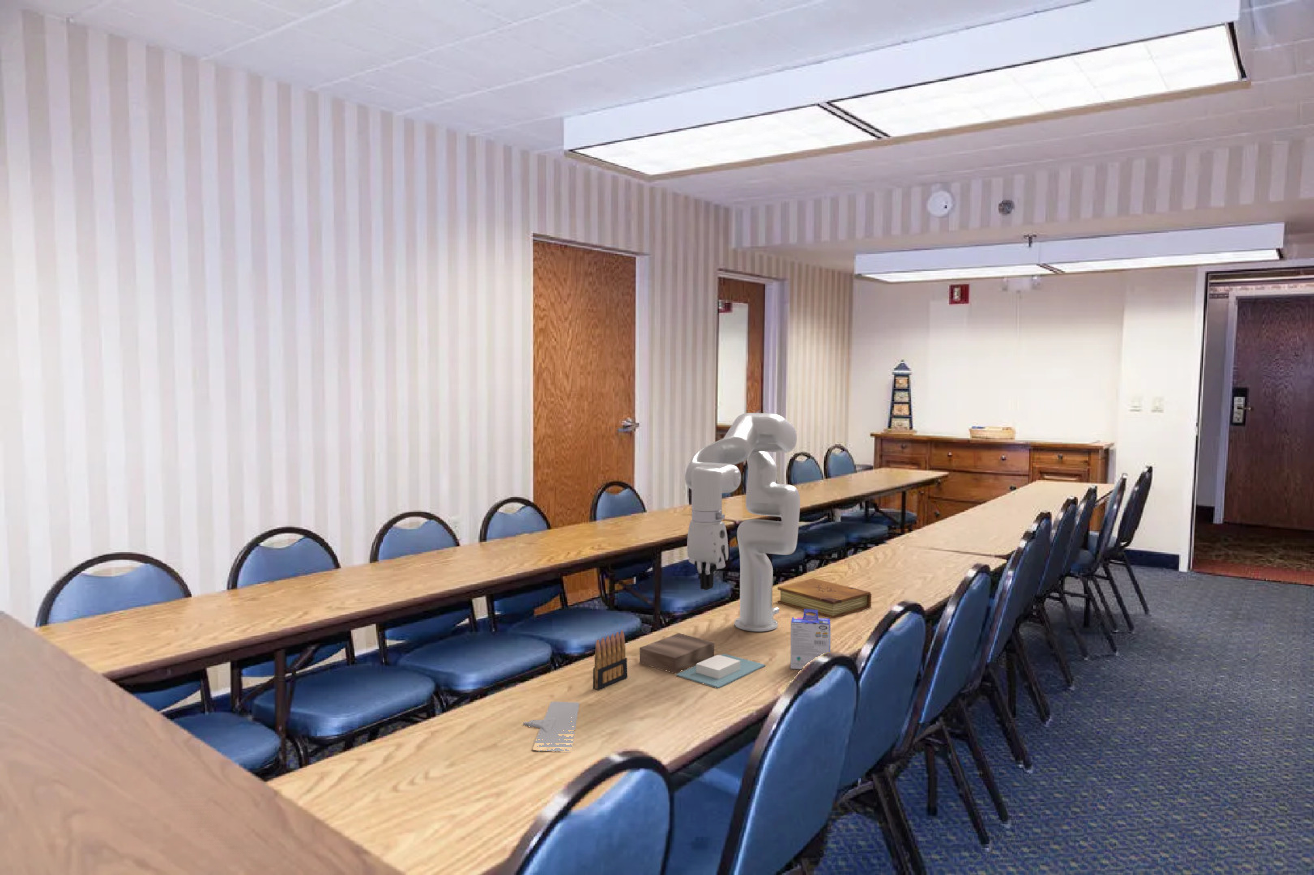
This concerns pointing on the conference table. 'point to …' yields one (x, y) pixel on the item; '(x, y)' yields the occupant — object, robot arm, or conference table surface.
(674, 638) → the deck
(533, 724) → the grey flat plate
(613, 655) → the ammunition clip
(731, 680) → the mat
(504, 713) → the conference table surface
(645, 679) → the conference table surface
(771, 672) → the conference table surface
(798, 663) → the ink cartridge box
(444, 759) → the conference table surface
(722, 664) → the white rectangular block
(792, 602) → the diary
